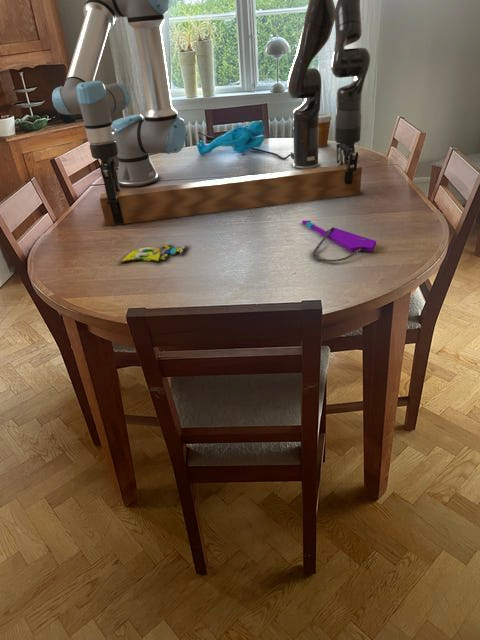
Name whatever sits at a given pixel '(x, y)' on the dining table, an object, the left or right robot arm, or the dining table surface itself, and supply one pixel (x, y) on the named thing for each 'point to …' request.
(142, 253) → the toy
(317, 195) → the post
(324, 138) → the disposable coffee cup
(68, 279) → the dining table surface
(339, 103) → the right robot arm
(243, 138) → the toy
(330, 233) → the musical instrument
